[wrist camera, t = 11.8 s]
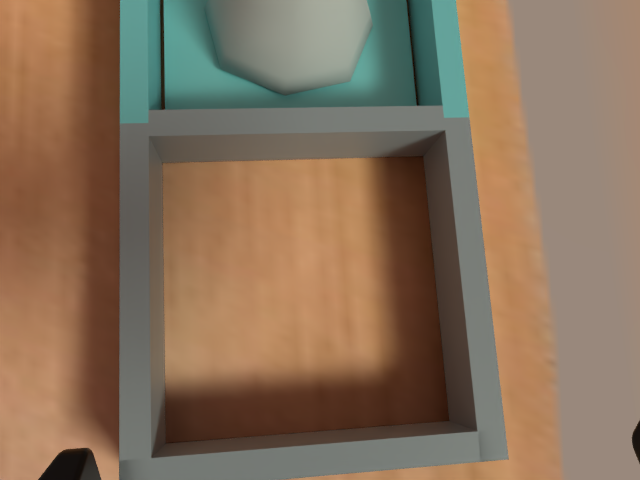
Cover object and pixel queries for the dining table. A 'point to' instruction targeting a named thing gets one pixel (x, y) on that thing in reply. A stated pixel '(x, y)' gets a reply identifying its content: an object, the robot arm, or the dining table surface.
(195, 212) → the dining table surface
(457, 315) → the tray
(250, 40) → the flask
